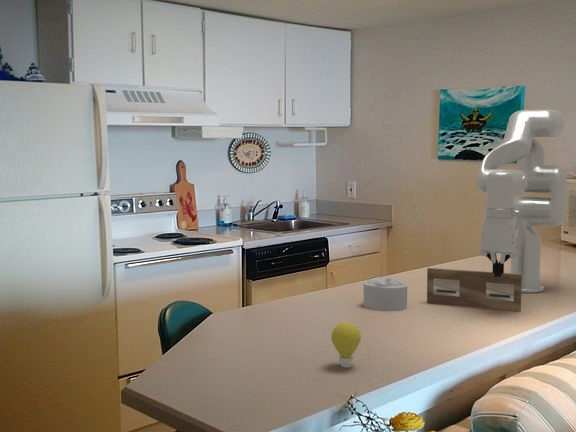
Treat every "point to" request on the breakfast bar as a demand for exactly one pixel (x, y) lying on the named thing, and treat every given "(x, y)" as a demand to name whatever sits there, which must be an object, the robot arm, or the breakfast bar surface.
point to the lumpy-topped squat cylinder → (385, 294)
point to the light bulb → (346, 342)
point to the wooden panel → (474, 289)
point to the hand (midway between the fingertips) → (498, 276)
